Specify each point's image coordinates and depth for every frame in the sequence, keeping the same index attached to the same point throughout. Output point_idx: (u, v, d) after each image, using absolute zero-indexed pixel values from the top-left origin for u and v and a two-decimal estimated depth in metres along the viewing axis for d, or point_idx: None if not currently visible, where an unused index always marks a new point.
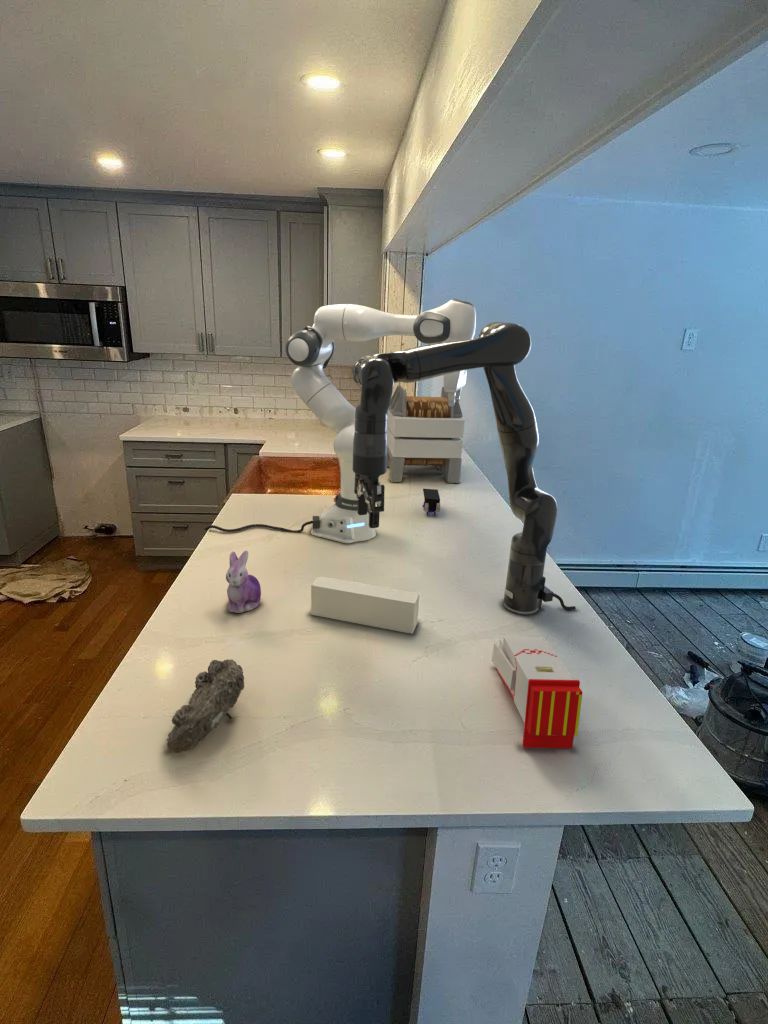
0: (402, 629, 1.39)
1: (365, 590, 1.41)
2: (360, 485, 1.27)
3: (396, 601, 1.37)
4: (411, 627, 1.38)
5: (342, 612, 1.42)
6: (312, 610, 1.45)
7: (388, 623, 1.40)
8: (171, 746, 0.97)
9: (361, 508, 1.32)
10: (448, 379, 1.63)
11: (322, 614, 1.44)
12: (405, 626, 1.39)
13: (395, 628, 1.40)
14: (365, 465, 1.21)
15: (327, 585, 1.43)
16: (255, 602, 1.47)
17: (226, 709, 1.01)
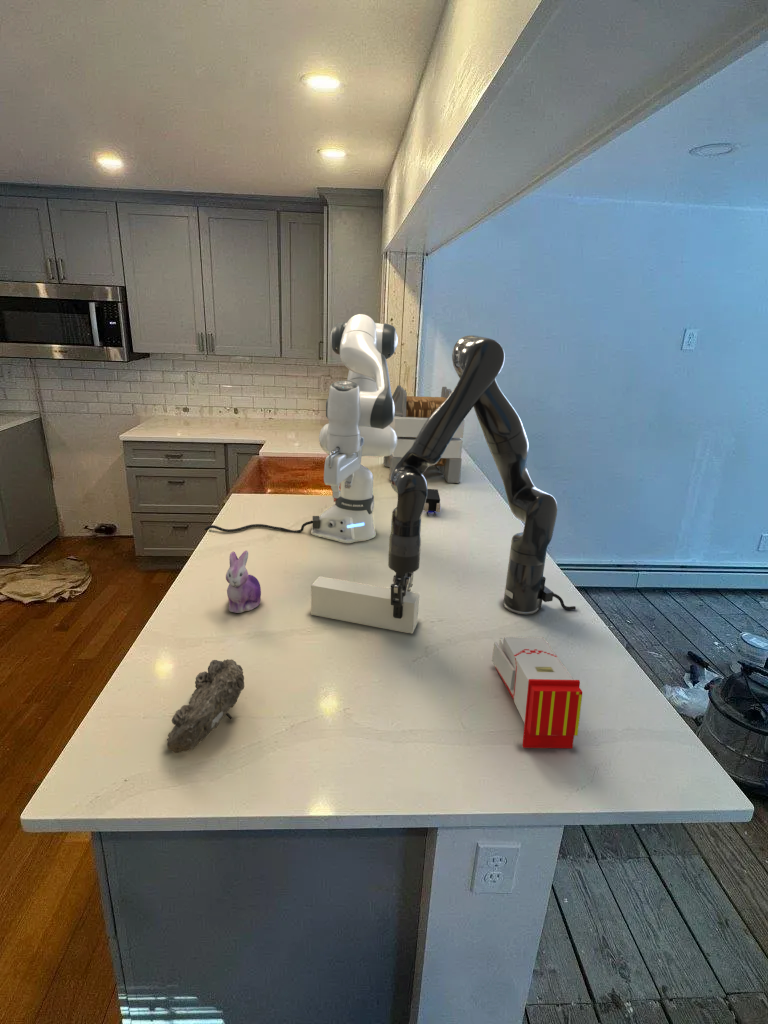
0: (402, 629, 1.39)
1: (365, 590, 1.41)
2: None
3: None
4: (411, 627, 1.38)
5: (342, 612, 1.42)
6: (312, 610, 1.45)
7: (388, 623, 1.40)
8: (171, 746, 0.97)
9: None
10: None
11: (322, 614, 1.44)
12: (405, 626, 1.39)
13: (395, 628, 1.40)
14: (392, 561, 1.34)
15: (327, 585, 1.43)
16: (255, 602, 1.47)
17: (226, 709, 1.01)
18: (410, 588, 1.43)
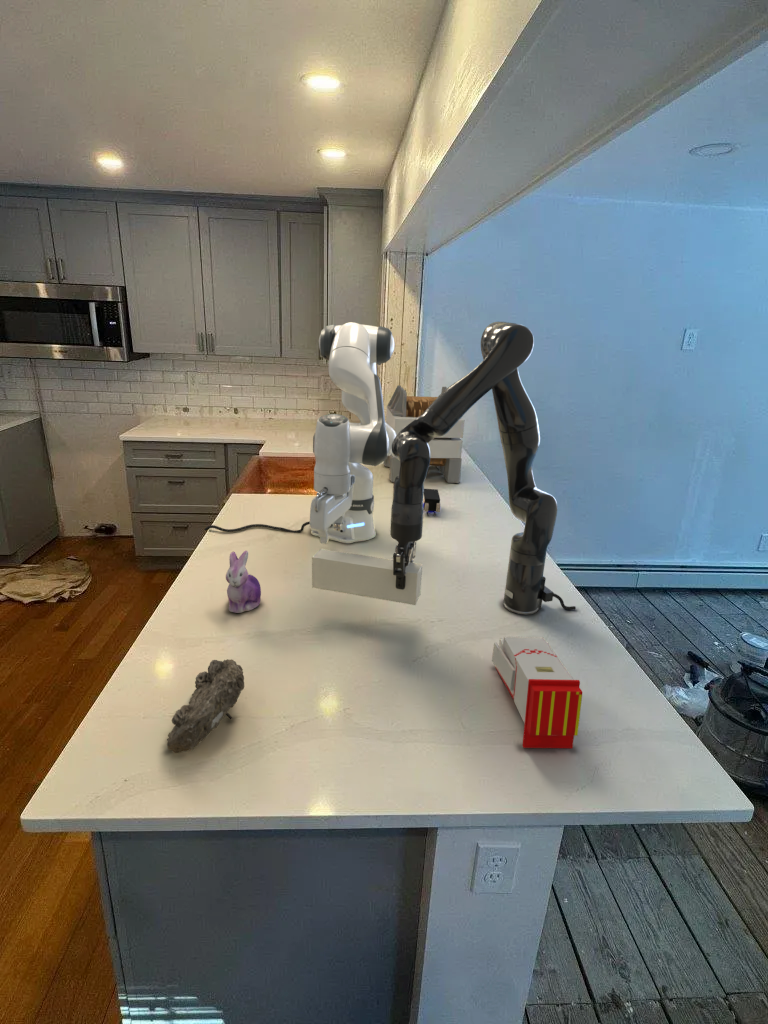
0: (405, 601, 1.36)
1: (367, 561, 1.39)
2: None
3: None
4: (414, 598, 1.36)
5: (343, 584, 1.40)
6: (313, 583, 1.42)
7: (391, 594, 1.37)
8: (171, 746, 0.97)
9: None
10: None
11: (324, 587, 1.42)
12: (408, 597, 1.36)
13: (398, 599, 1.37)
14: (394, 530, 1.31)
15: (328, 557, 1.40)
16: (255, 602, 1.47)
17: (226, 709, 1.01)
18: None
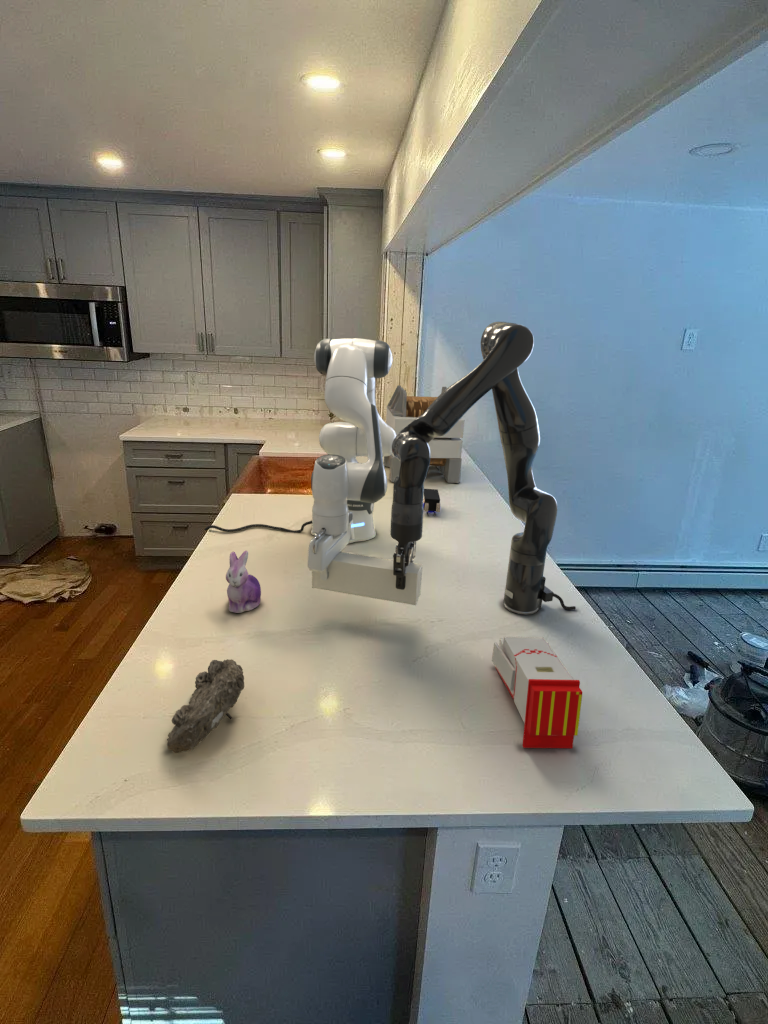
0: (405, 601, 1.36)
1: (367, 561, 1.38)
2: None
3: None
4: (414, 598, 1.36)
5: (343, 584, 1.40)
6: (313, 583, 1.42)
7: (391, 594, 1.37)
8: (171, 746, 0.97)
9: None
10: None
11: (324, 587, 1.42)
12: (408, 597, 1.36)
13: (398, 599, 1.37)
14: (394, 530, 1.31)
15: None
16: (255, 602, 1.47)
17: (226, 709, 1.01)
18: None
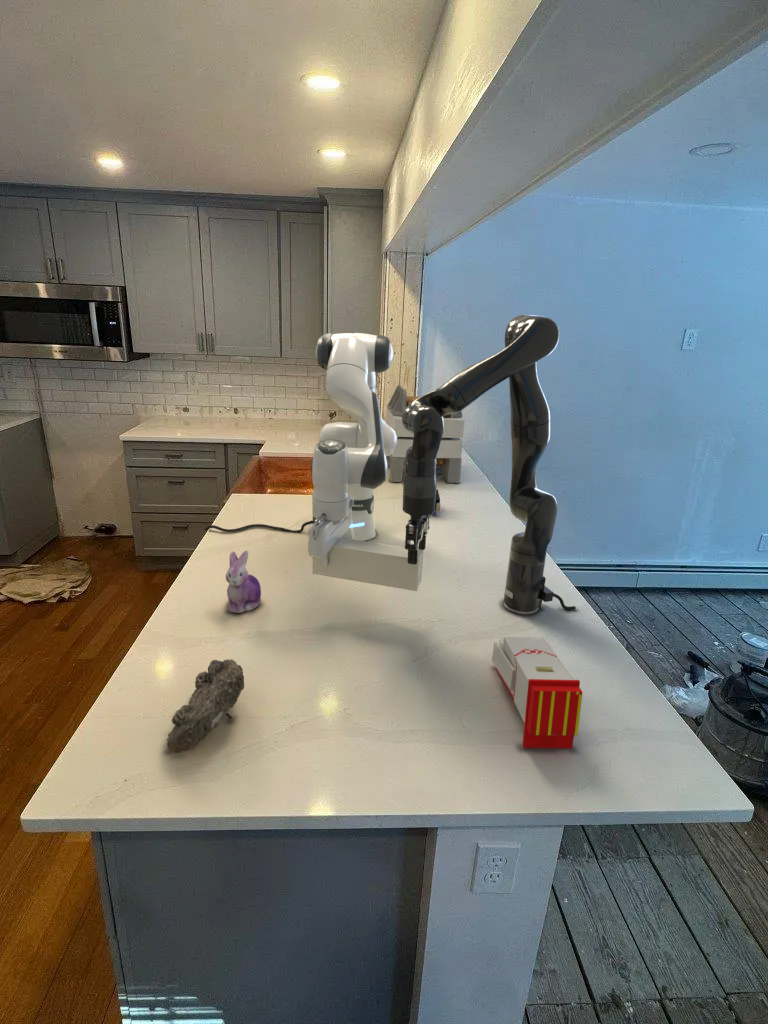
0: (406, 587, 1.36)
1: (368, 547, 1.38)
2: None
3: (399, 557, 1.34)
4: (415, 584, 1.35)
5: (344, 570, 1.39)
6: (313, 569, 1.41)
7: (392, 580, 1.36)
8: (171, 746, 0.97)
9: (419, 543, 1.38)
10: None
11: (324, 573, 1.41)
12: (409, 583, 1.35)
13: (399, 585, 1.36)
14: (407, 504, 1.28)
15: None
16: (255, 602, 1.47)
17: (226, 709, 1.01)
18: None
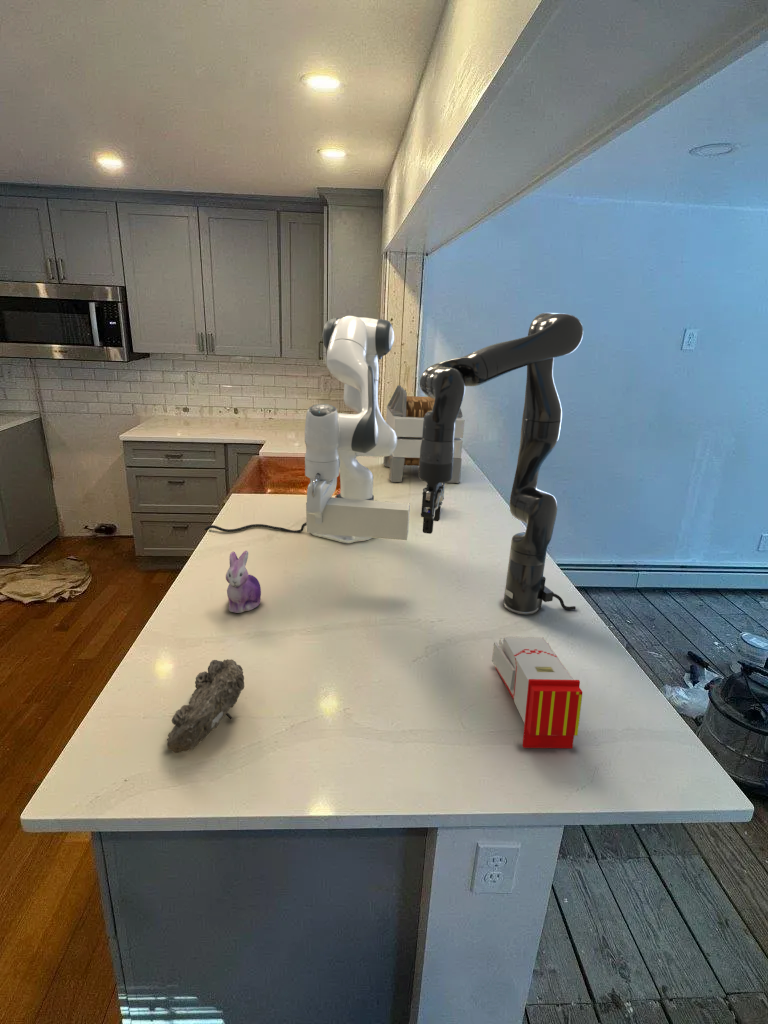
0: (397, 537, 1.48)
1: (359, 503, 1.48)
2: None
3: (390, 510, 1.46)
4: (405, 534, 1.47)
5: (338, 527, 1.49)
6: (307, 528, 1.50)
7: (383, 532, 1.48)
8: (171, 746, 0.97)
9: None
10: None
11: (318, 531, 1.50)
12: (400, 533, 1.48)
13: (390, 536, 1.48)
14: (424, 470, 1.24)
15: None
16: (255, 602, 1.47)
17: (226, 709, 1.01)
18: None
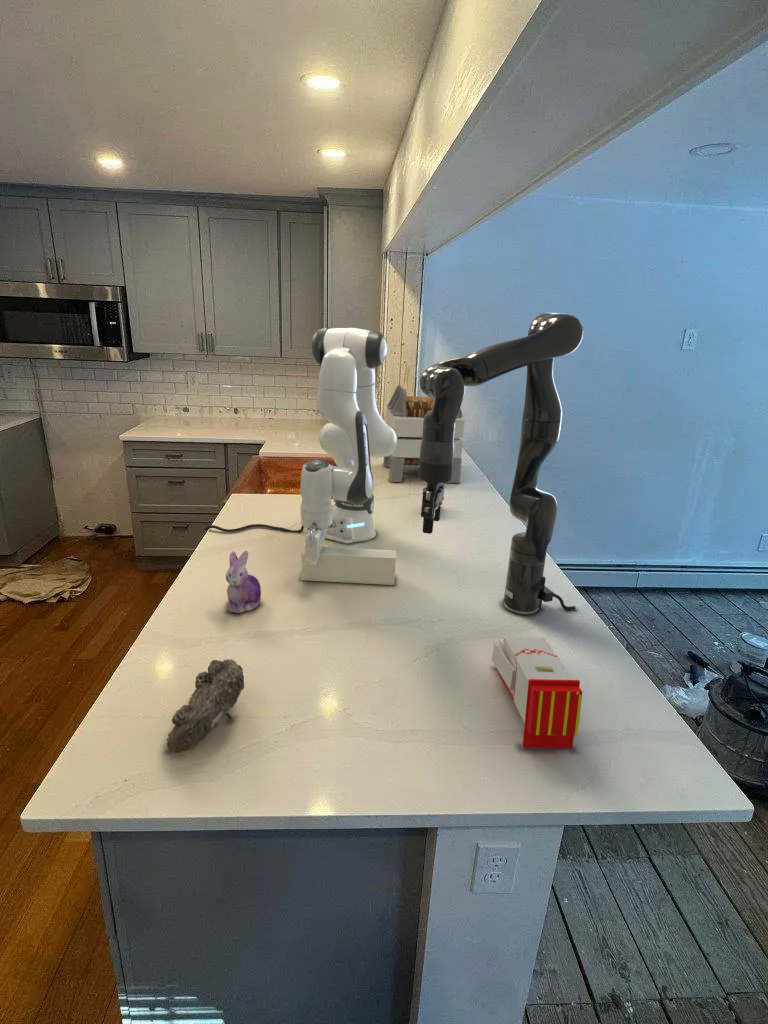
0: (385, 582, 1.63)
1: (350, 552, 1.62)
2: None
3: (379, 558, 1.60)
4: (393, 579, 1.62)
5: (330, 574, 1.62)
6: (302, 576, 1.63)
7: (373, 578, 1.62)
8: (171, 746, 0.97)
9: None
10: None
11: (312, 578, 1.63)
12: (388, 579, 1.62)
13: (379, 582, 1.63)
14: (424, 470, 1.24)
15: None
16: (255, 602, 1.47)
17: (226, 709, 1.01)
18: None
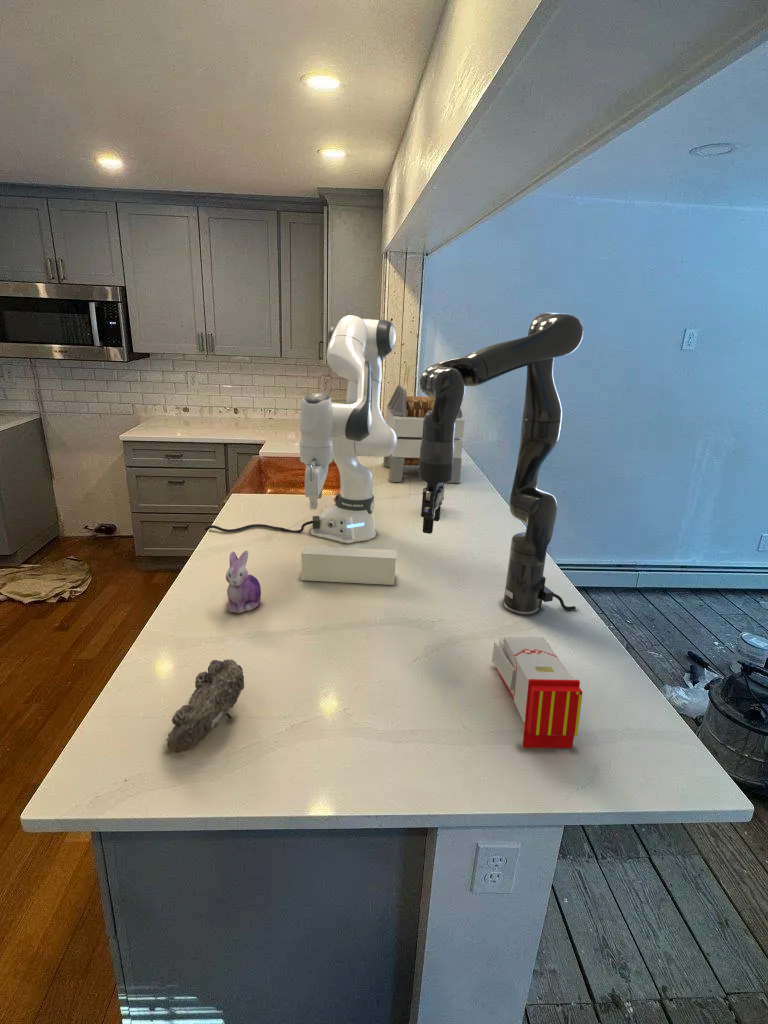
0: (385, 582, 1.63)
1: (350, 552, 1.62)
2: None
3: (379, 558, 1.60)
4: (393, 579, 1.62)
5: (330, 574, 1.62)
6: (302, 576, 1.63)
7: (373, 578, 1.62)
8: (171, 746, 0.97)
9: None
10: None
11: (312, 578, 1.63)
12: (388, 579, 1.62)
13: (379, 582, 1.63)
14: (424, 470, 1.24)
15: (315, 552, 1.61)
16: (255, 602, 1.47)
17: (226, 709, 1.01)
18: None
